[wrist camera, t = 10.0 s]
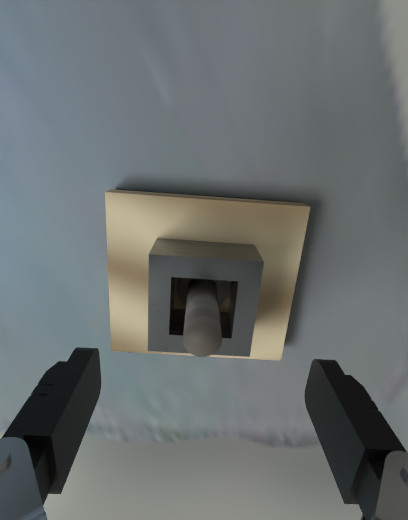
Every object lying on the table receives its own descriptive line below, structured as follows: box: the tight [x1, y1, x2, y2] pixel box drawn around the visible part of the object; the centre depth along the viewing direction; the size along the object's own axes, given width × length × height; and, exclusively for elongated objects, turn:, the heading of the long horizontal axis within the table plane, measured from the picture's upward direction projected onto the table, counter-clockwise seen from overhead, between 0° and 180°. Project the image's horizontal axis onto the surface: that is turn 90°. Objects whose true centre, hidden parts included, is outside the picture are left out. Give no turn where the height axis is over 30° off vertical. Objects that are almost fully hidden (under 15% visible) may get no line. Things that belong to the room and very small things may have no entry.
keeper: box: [105, 189, 310, 360], centre depth 17 cm, size 11×12×7 cm
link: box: [148, 238, 264, 357], centre depth 18 cm, size 6×6×3 cm
